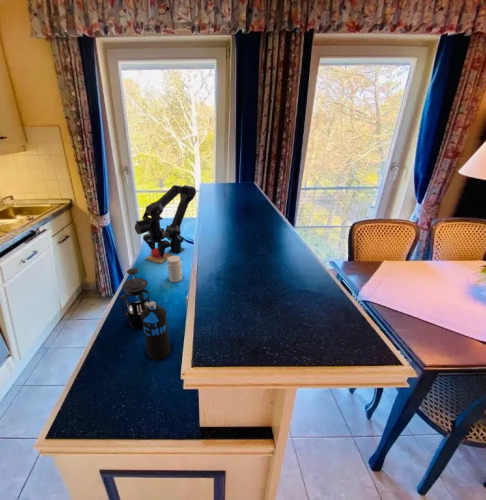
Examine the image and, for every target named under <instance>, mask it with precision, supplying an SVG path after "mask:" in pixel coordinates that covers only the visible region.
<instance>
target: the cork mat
mask: <svg viewBox="0 0 486 500" xmlns="http://www.w3.org/2000/svg"><path fill="white" fill-rule="evenodd" d="M170 256H172V254H170V253H166V252H165V255H164V256H163V257H158V258H155V257H152V256H151V255H149V256H147V257H146V258H145V260H146V261H149V262H153V263H156V264H162V263H163V262H165V261H167V259H168V257H170Z"/></svg>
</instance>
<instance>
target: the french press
mask: <svg viewBox="0 0 486 500" xmlns="http://www.w3.org/2000/svg"><path fill="white" fill-rule="evenodd" d="M139 271H140V269H139V268H137V267H131V268H128V269H127V270H126V274H128V275H131V276H132V278H131V279H128V280H127V281H125V282H124V283H123V285H122V289H123V291H124V294H121V295H120V296H119V301H120V306H121V311H122V315H123V317H127V318H128V324H129V326H130V327H131V328H132V329H135V330H142V329H143V324H142V320H140V316H141V313H142V311H143V310H144V309H146V308H147V307H149V302H151V297H150V296H151V295H150V292H149V291H148V290H147V289H146V288H147V287H148V284H149V283H148V281H147V279H145V278H141V277H136V278H135V274H137V273H139ZM144 293H145V294H147V295H148V296H147V297H146V298H145V297H144ZM129 296H130V297H135V296H136V301H135V302H132V301H129V300H128V297H129ZM124 302H125V303H124ZM125 304H126V309H125ZM126 310H127V312H126ZM143 330H144V329H143Z"/></svg>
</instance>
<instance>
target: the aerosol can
mask: <svg viewBox="0 0 486 500" xmlns="http://www.w3.org/2000/svg"><path fill="white" fill-rule="evenodd" d="M148 303H149V307H147V308H146V309H144V310H143V311H142V313H141V315H140V316H139V318H140V319H141V321H142V324H143V334H144V341H145V346H146V355H147V357H148V358H149V359H151V360H154V361H159V360H163V359H165V358H167V357H168V356H169V355H170V354H171V350H172V347H171V344H170V343H171V342H170V336H169V335H170V334H169V328H168V320H167V314H168V313H167V310H166V308H165V307H163V306H161V305H158V304H156V302H155V301H153V300H150V302H148Z"/></svg>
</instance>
